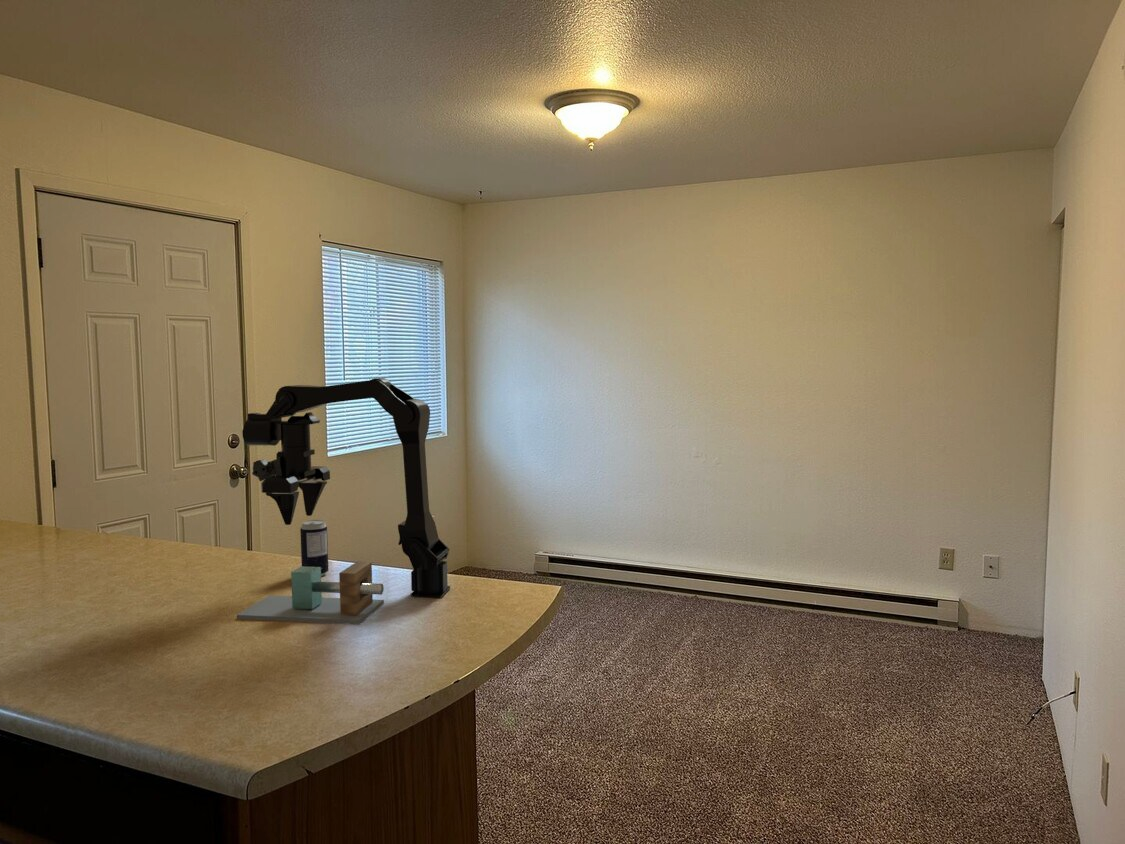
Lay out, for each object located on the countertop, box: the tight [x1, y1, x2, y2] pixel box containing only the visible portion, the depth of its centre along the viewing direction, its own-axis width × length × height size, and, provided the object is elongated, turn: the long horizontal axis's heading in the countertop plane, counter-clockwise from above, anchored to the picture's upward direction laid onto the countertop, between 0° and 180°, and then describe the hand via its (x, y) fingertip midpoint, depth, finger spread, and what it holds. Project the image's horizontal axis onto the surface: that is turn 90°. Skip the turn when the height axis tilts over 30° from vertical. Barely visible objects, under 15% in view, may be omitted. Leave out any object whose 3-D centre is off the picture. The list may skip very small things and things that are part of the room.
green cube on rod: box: [290, 565, 385, 609], centre depth 148 cm, size 17×4×7 cm, turn 82°
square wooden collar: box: [338, 561, 374, 616], centre depth 148 cm, size 3×8×8 cm, turn 172°
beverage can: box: [299, 519, 329, 577], centre depth 174 cm, size 6×6×12 cm
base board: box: [236, 594, 385, 625], centre depth 150 cm, size 24×12×1 cm, turn 82°
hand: (298, 520), depth 163 cm, fingers open, 9 cm apart
